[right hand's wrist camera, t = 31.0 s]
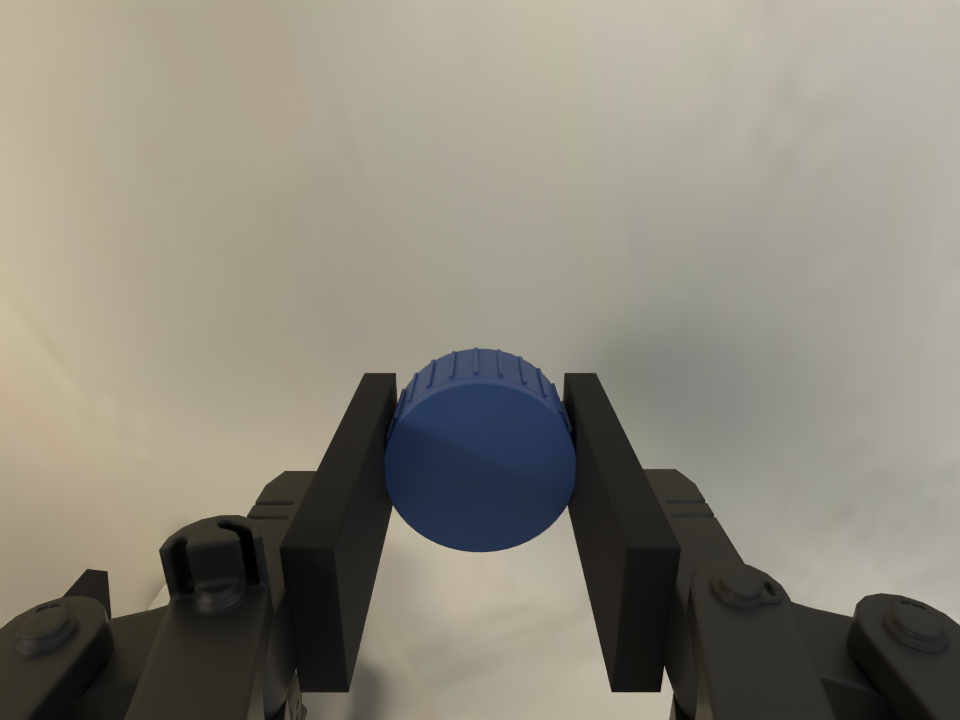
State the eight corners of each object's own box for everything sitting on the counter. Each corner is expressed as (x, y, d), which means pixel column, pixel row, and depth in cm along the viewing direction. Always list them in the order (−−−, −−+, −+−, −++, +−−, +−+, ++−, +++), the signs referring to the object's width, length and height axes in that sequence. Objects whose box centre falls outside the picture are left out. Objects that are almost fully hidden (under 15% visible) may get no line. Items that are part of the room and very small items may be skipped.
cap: (576, 488, 15) (590, 540, 13) (413, 512, 16) (403, 566, 14) (555, 332, 14) (568, 365, 12) (375, 361, 14) (358, 398, 12)
